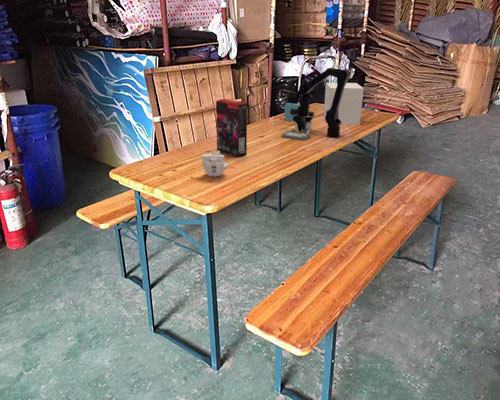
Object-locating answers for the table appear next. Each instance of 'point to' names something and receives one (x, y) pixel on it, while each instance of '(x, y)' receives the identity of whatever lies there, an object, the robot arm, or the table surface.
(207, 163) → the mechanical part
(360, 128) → the table surface
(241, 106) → the graphics card box
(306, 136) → the pin tray
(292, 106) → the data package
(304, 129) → the block
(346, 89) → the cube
